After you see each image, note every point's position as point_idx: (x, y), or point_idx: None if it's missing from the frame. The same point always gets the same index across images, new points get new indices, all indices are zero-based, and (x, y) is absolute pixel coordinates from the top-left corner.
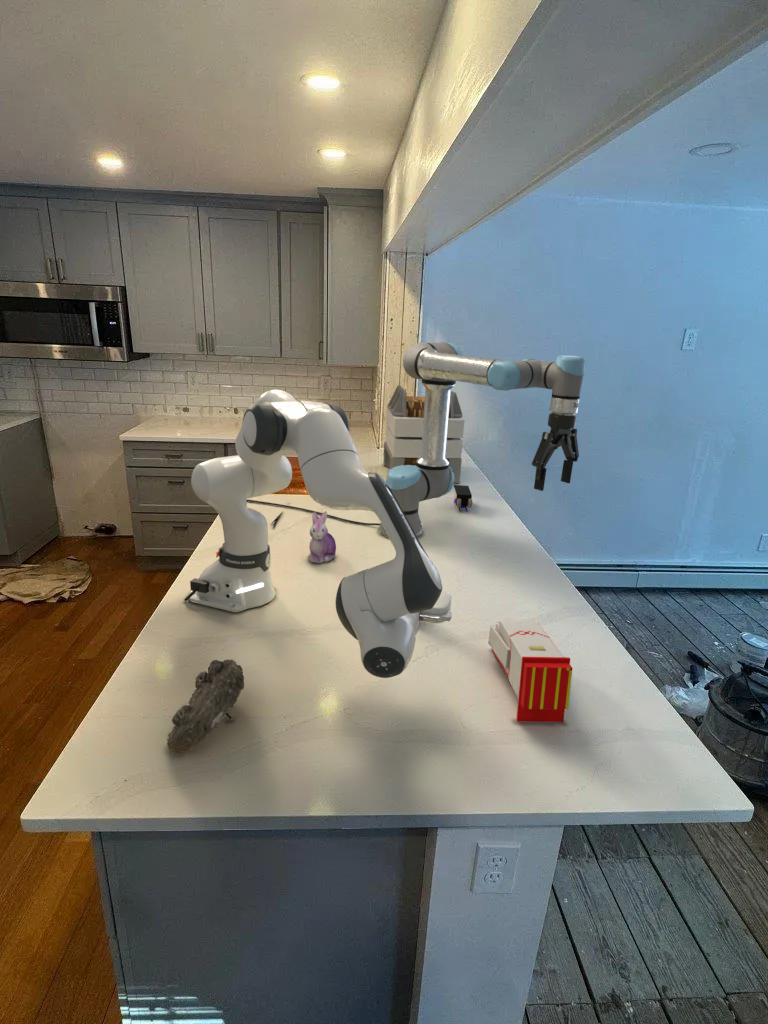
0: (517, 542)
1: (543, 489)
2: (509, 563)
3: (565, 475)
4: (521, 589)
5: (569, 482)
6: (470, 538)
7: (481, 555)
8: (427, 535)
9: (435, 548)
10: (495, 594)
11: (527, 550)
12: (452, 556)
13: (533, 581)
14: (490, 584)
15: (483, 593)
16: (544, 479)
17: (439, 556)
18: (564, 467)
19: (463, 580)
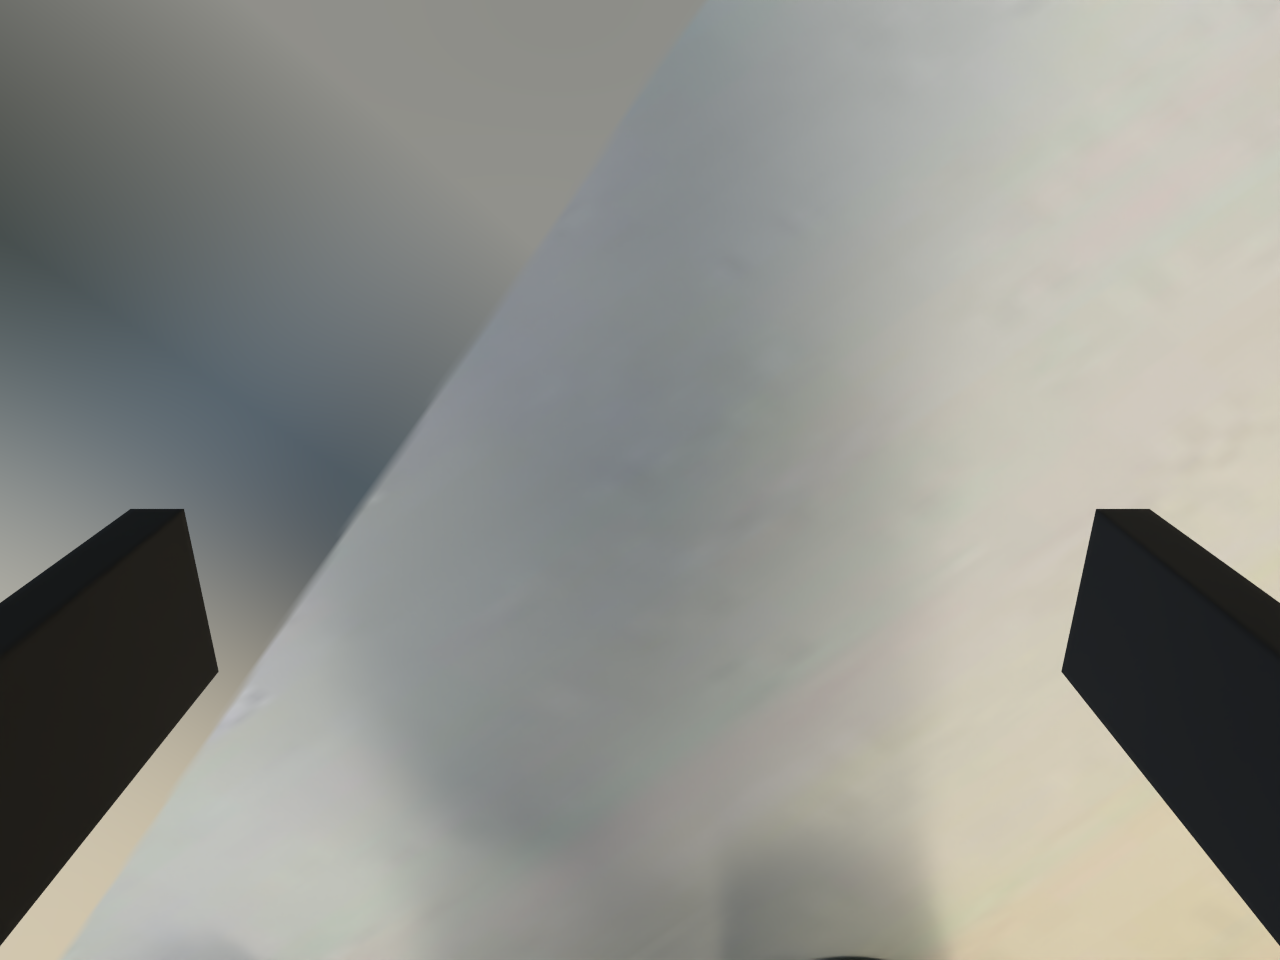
0: (371, 647)
1: (1111, 517)
2: (685, 486)
3: (124, 678)
4: (959, 204)
5: (143, 515)
6: (583, 824)
7: (730, 649)
8: (755, 956)
9: (864, 836)
10: (1145, 263)
11: (415, 540)
12: (880, 727)
13: (791, 228)
14: (1042, 370)
15: (1184, 318)
16: (1273, 635)
17: (937, 763)
18: (11, 871)
19: (1112, 497)
